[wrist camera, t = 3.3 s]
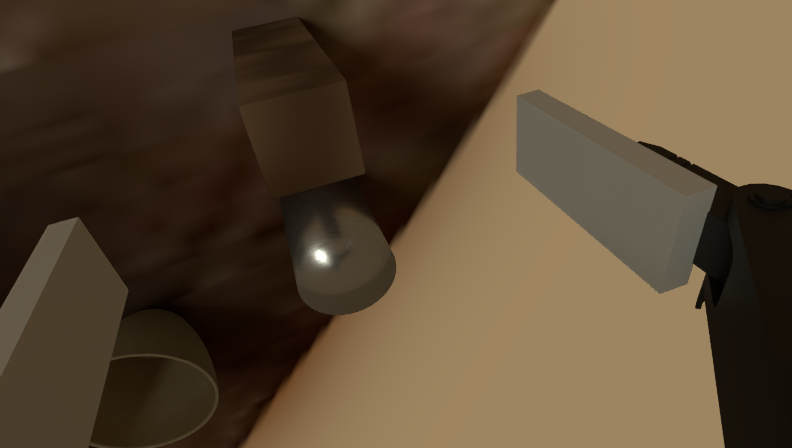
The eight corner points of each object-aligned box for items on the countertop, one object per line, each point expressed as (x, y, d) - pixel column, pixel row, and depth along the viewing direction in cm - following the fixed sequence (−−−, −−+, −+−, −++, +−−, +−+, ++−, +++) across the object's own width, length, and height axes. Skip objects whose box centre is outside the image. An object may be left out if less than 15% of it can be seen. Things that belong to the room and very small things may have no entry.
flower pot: (94, 272, 33) (68, 345, 27) (235, 296, 38) (237, 362, 32) (68, 369, 37) (40, 451, 31) (199, 379, 41) (196, 452, 36)
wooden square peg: (253, 95, 30) (271, 200, 19) (231, 31, 27) (238, 106, 16) (313, 81, 30) (365, 173, 19) (297, 16, 28) (346, 80, 17)
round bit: (330, 239, 38) (359, 325, 30) (264, 210, 34) (276, 297, 26) (372, 182, 36) (415, 257, 28) (307, 146, 33) (334, 218, 25)
